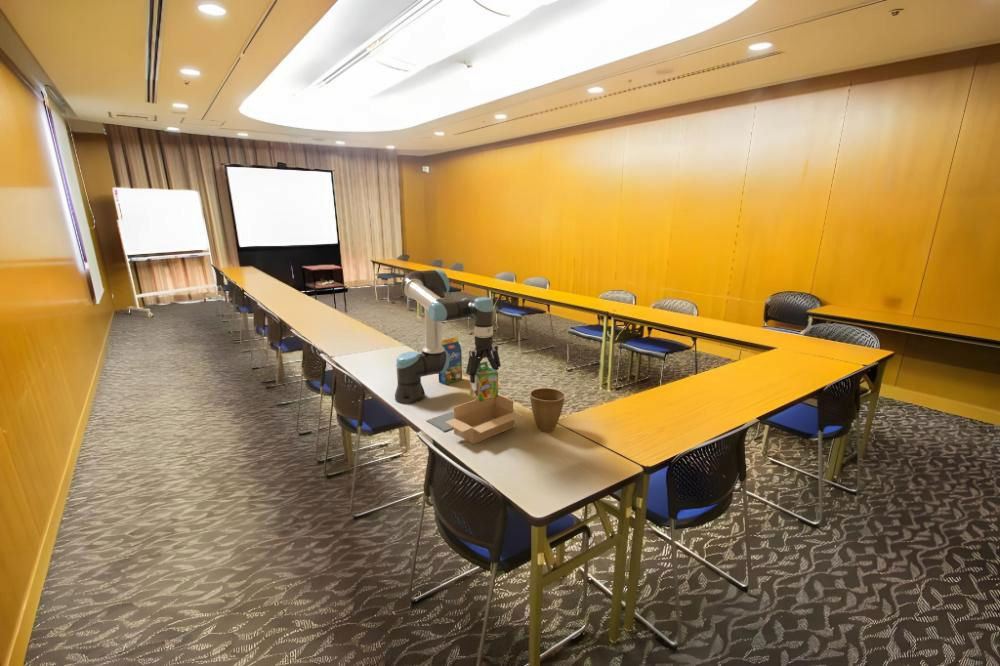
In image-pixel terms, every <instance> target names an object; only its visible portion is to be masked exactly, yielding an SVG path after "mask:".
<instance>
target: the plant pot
mask: <svg viewBox="0 0 1000 666" xmlns="http://www.w3.org/2000/svg"><path fill="white" fill-rule="evenodd" d="M529 397H530V403H531V405H530V406H531V410H532V415H533V418H534V422H535V425H536V427H537V430H538V431H540V432H543V433H551V432H553V431H555V429H556V427H557V424H558V423H559V420H560V417H561V413H562V410H563V407H564V403H565V398H566V394H565V392H563V391H561V390H558V389H555V388H546V387H542V388H536V389H533V390H532V391H530V393H529Z"/></svg>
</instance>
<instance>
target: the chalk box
mask: <svg viewBox="0 0 1000 666" xmlns="http://www.w3.org/2000/svg"><path fill="white" fill-rule="evenodd" d="M488 365H489V364H488V362H487V361H481V362H480V364H479V367H478V370H477V372H476V375H477V391H475V390H473V389H472V383H471V382H470V381H469V390H470V391H469V393H470V394H469V395H470V396H471V397H473V398H474V399H475V400H476V399H477V400H479V401H480V402H481V401H484V400H488V399H493V398H497V397H498V395H499V372H498V370H497V371H495V370H494V369H493V368H492V367H489V366H488Z"/></svg>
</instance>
